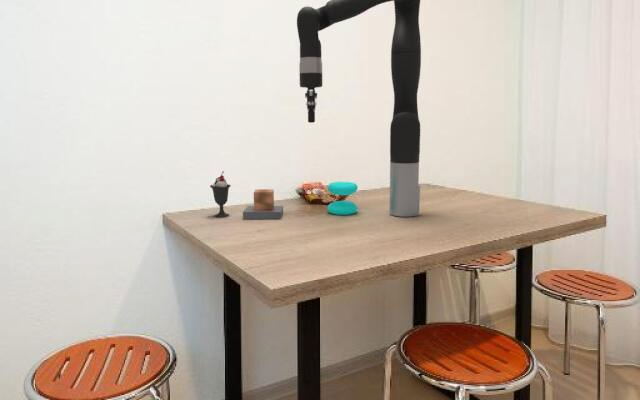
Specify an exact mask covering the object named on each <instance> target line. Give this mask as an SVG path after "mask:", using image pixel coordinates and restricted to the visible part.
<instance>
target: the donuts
mask: <svg viewBox="0 0 640 400" xmlns="http://www.w3.org/2000/svg"><path fill="white" fill-rule="evenodd" d="M327 191H328V192H329V193H331V194H332V195H335V196H337V195H338V196H350V195H353V194H355V193H356V192H357V191H358V184H356V183H355V182H351V181H350V182H349V181H335V182H334V181H333V182H329V184H328V185H327ZM327 210H328V212H329V214H332V215H337V216H338V215H339V216H345V215H346V216H348V215H349V216H350V215H353V214H355V213H357V211H358V205H357V204H356V203H355V202H353V201H348V200H335V201H333V202H331V203H329V204H328V206H327Z"/></svg>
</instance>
